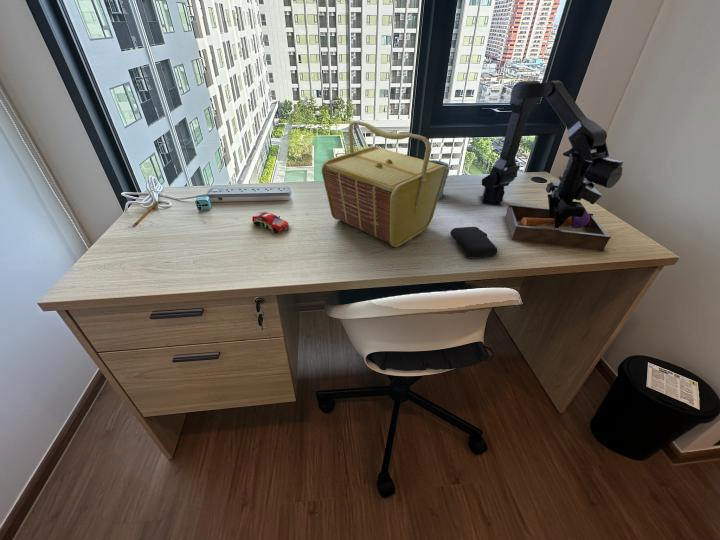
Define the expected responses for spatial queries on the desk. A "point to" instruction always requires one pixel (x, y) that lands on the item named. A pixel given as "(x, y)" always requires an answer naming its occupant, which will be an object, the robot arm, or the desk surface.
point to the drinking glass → (446, 173)
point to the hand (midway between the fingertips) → (554, 223)
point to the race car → (270, 222)
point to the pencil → (145, 214)
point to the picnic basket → (383, 188)
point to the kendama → (571, 221)
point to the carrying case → (473, 242)
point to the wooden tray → (554, 230)
